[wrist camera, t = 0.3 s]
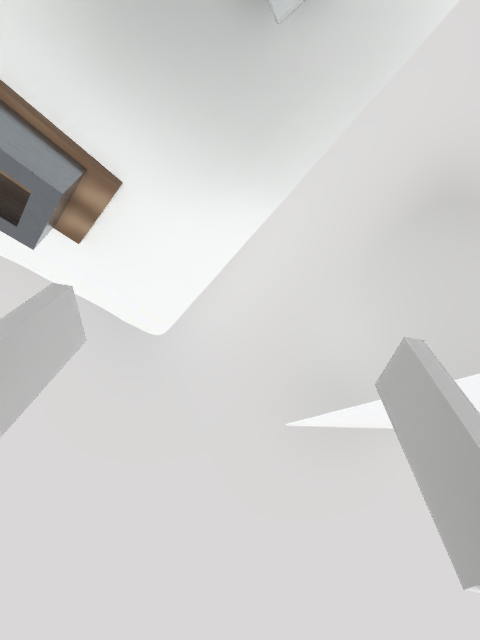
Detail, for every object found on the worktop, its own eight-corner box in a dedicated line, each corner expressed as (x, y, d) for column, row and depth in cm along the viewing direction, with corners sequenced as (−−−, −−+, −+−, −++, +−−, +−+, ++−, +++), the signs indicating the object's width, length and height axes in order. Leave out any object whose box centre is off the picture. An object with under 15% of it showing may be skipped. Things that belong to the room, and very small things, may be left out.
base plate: (-111, -14, 23) (-123, -13, 22) (122, 182, 35) (119, 187, 34) (-105, 116, 31) (-114, 119, 31) (82, 239, 43) (78, 244, 43)
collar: (-40, 67, 26) (-91, 82, 23) (87, 169, 33) (62, 193, 29) (-50, 155, 33) (-91, 177, 30) (56, 224, 40) (33, 249, 36)
